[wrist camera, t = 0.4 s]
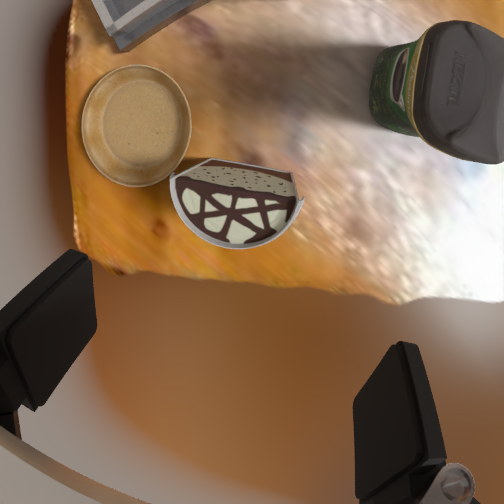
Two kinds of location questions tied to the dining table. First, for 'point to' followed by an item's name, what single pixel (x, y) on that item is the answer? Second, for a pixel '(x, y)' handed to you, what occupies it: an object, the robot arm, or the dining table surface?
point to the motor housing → (140, 18)
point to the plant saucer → (136, 125)
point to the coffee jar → (445, 90)
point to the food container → (235, 202)
